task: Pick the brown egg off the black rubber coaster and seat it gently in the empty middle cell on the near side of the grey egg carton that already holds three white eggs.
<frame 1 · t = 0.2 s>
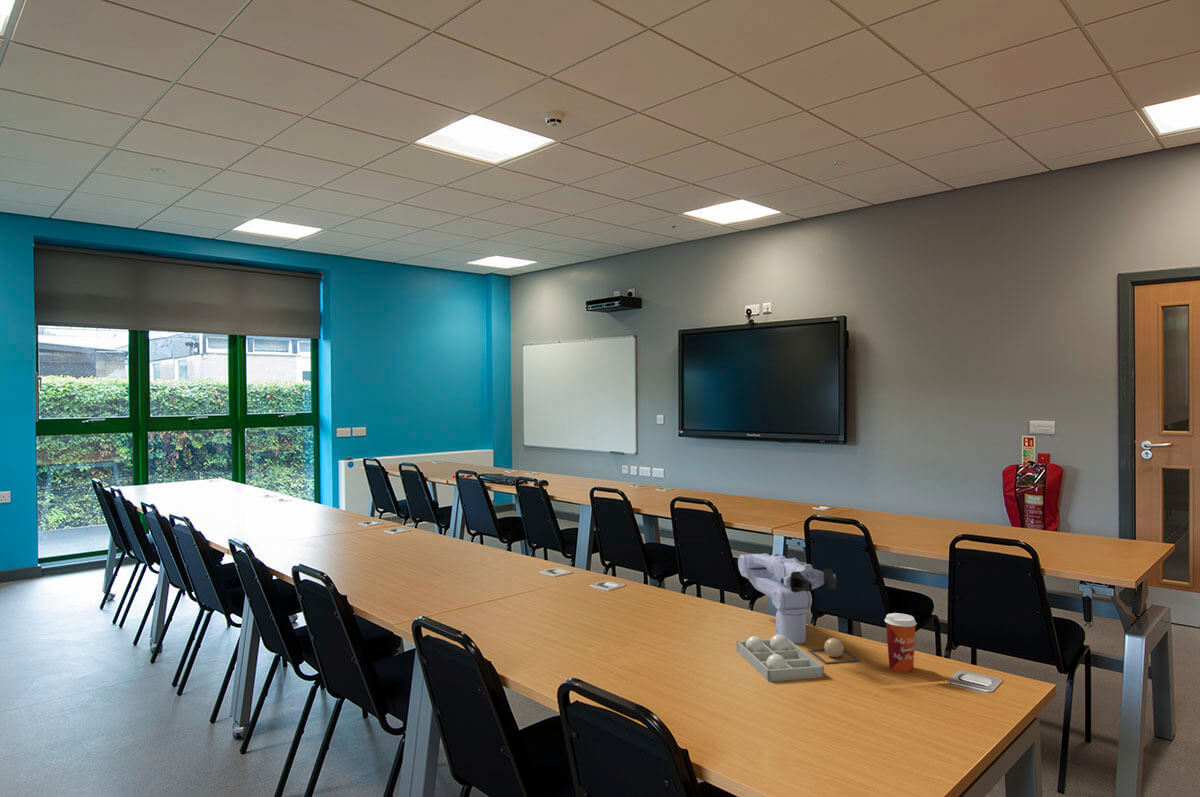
hand: (824, 586, 185), 21 cm above the table, tool horizontal, fingers open, 7 cm apart
carton: (778, 666, 185), on the table
white egg C: (779, 652, 193), point 1 cm above the table, touching carton
paper cup: (901, 671, 181), on the table
white egg A: (755, 654, 192), point 1 cm above the table, touching carton
white egg B: (776, 674, 178), point 1 cm above the table, touching carton
coaster: (834, 659, 190), on the table
brown egg: (834, 656, 190), point 1 cm above the table, touching coaster
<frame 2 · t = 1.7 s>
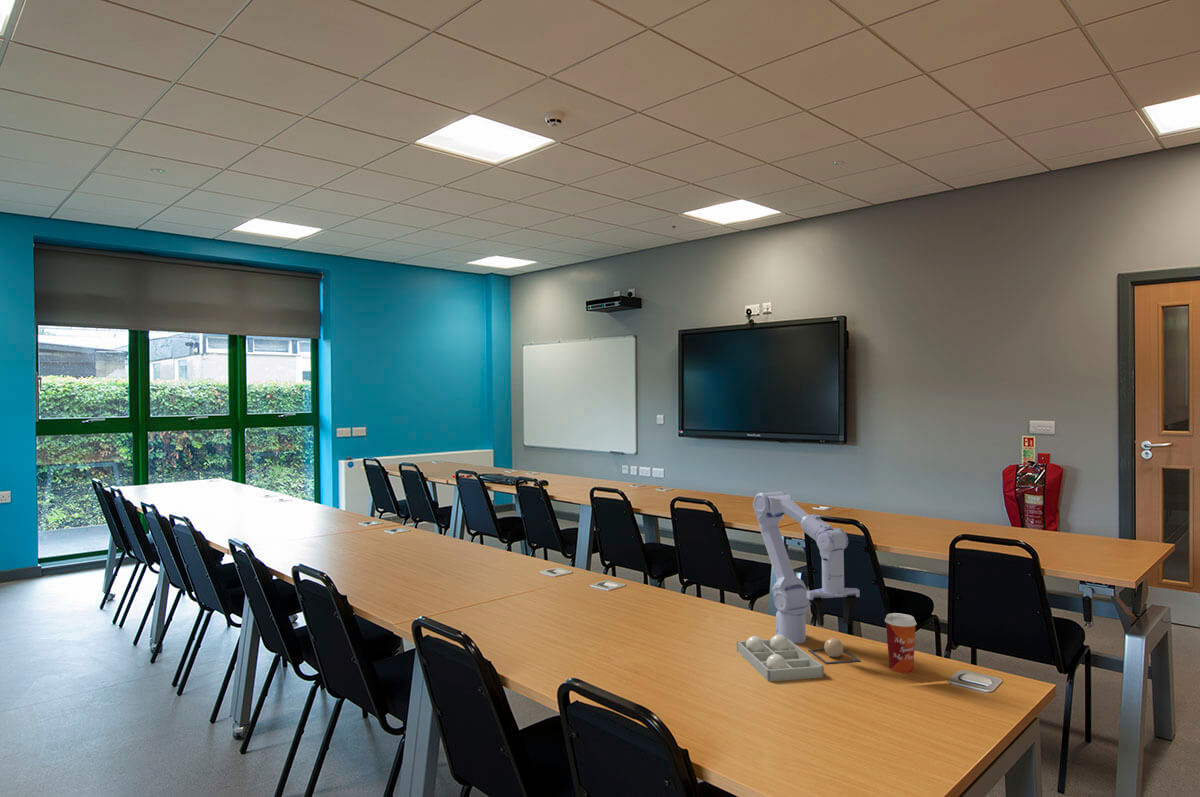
hand: (833, 624, 190), 10 cm above the table, tool pointing down, fingers open, 7 cm apart
nothing on the table moved.
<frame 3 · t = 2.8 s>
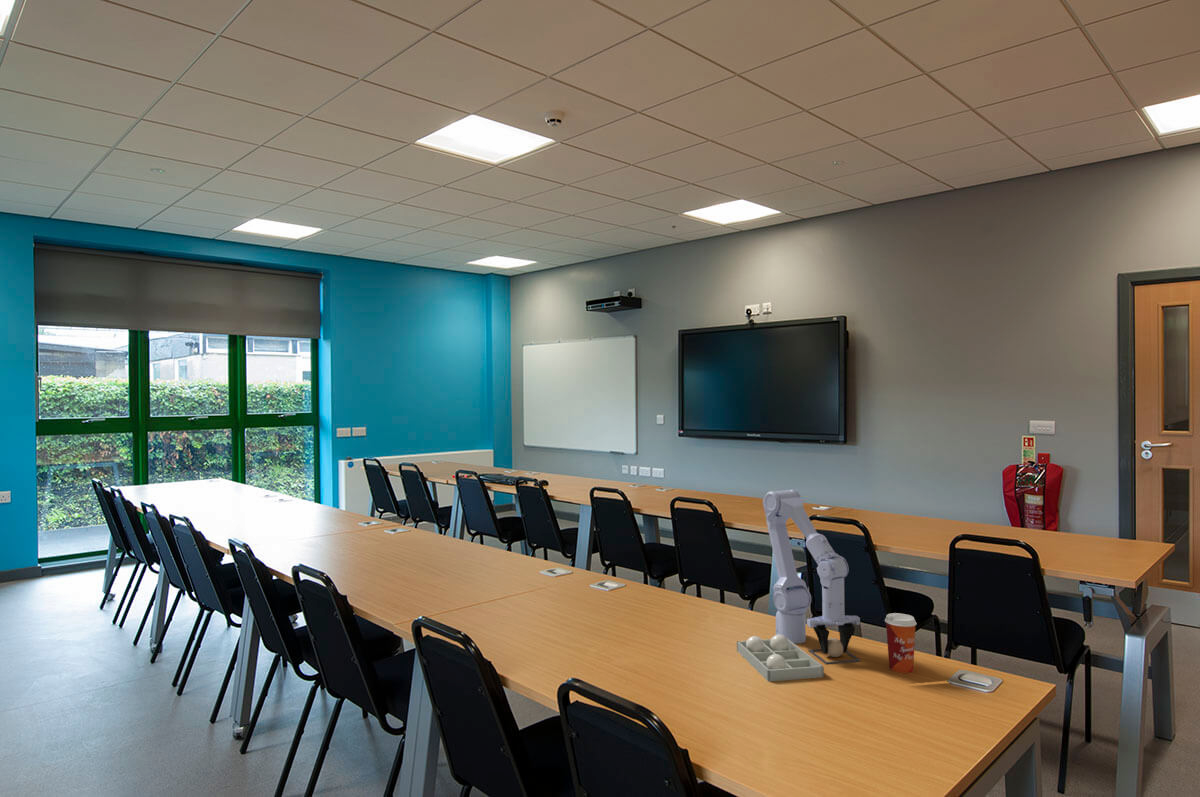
hand: (833, 652, 190), 2 cm above the table, tool pointing down, fingers closed on brown egg, 5 cm apart
brown egg: (834, 656, 190), point 1 cm above the table, touching coaster, gripper
everything else where it was.
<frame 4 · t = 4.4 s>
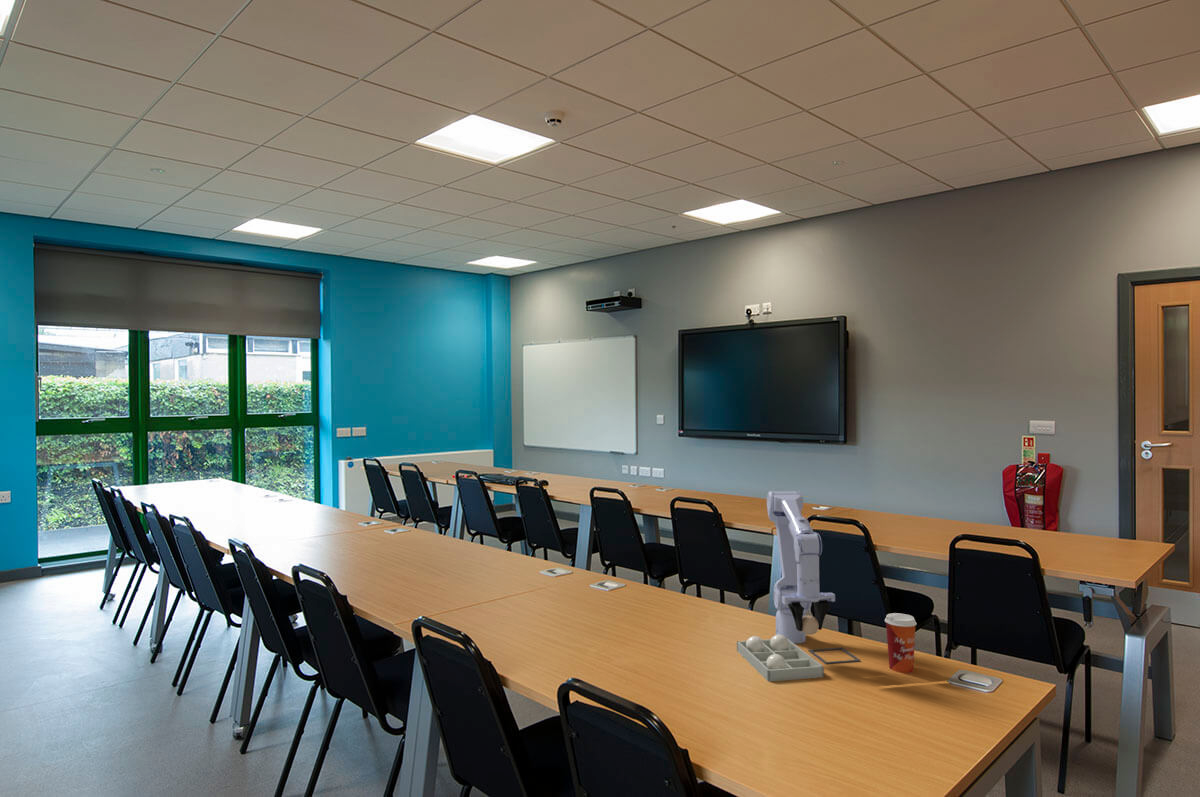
hand: (808, 629, 188), 9 cm above the table, tool pointing down, fingers closed on brown egg, 5 cm apart
brown egg: (809, 634, 188), point 8 cm above the table, touching gripper
everything else where it was.
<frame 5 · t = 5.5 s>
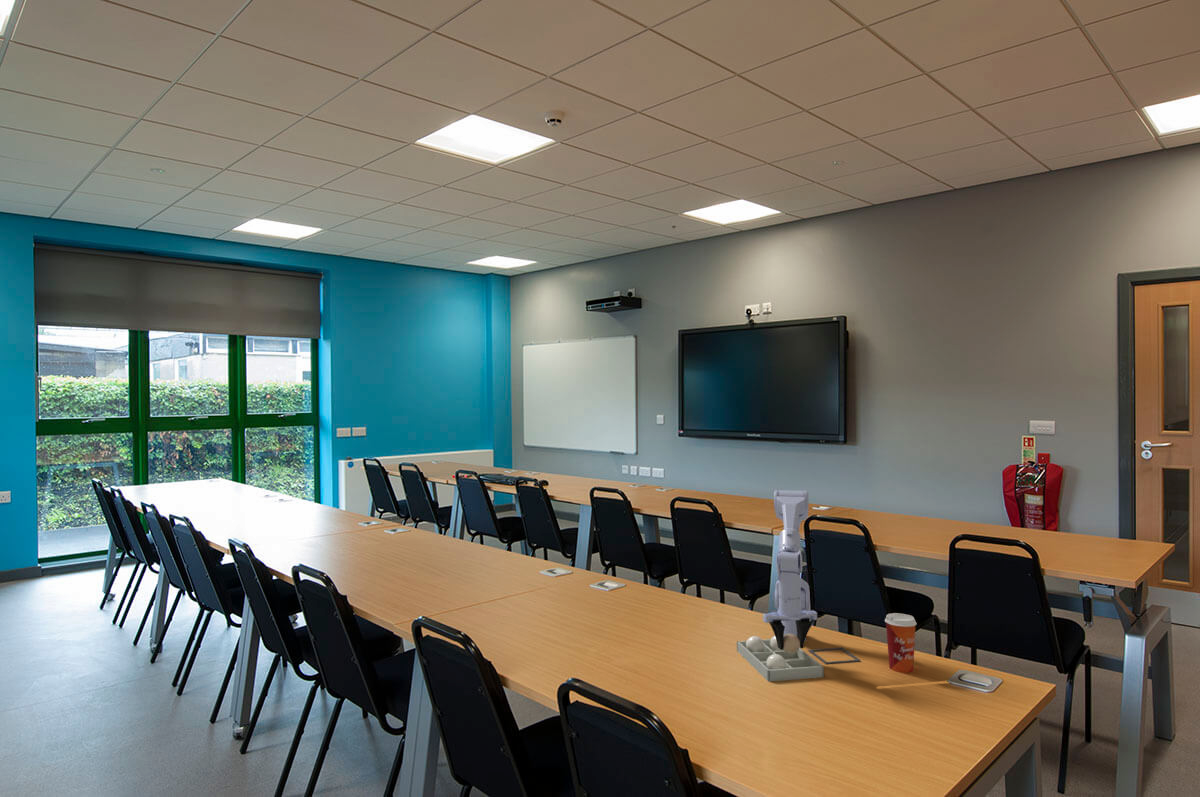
hand: (790, 647, 186), 5 cm above the table, tool pointing down, fingers closed on brown egg, 5 cm apart
brown egg: (790, 652, 186), point 3 cm above the table, touching gripper
everything else where it was.
when the fingers open (4 cm above the table, at t = 6.1 s): brown egg drops 2 cm, resting on carton.
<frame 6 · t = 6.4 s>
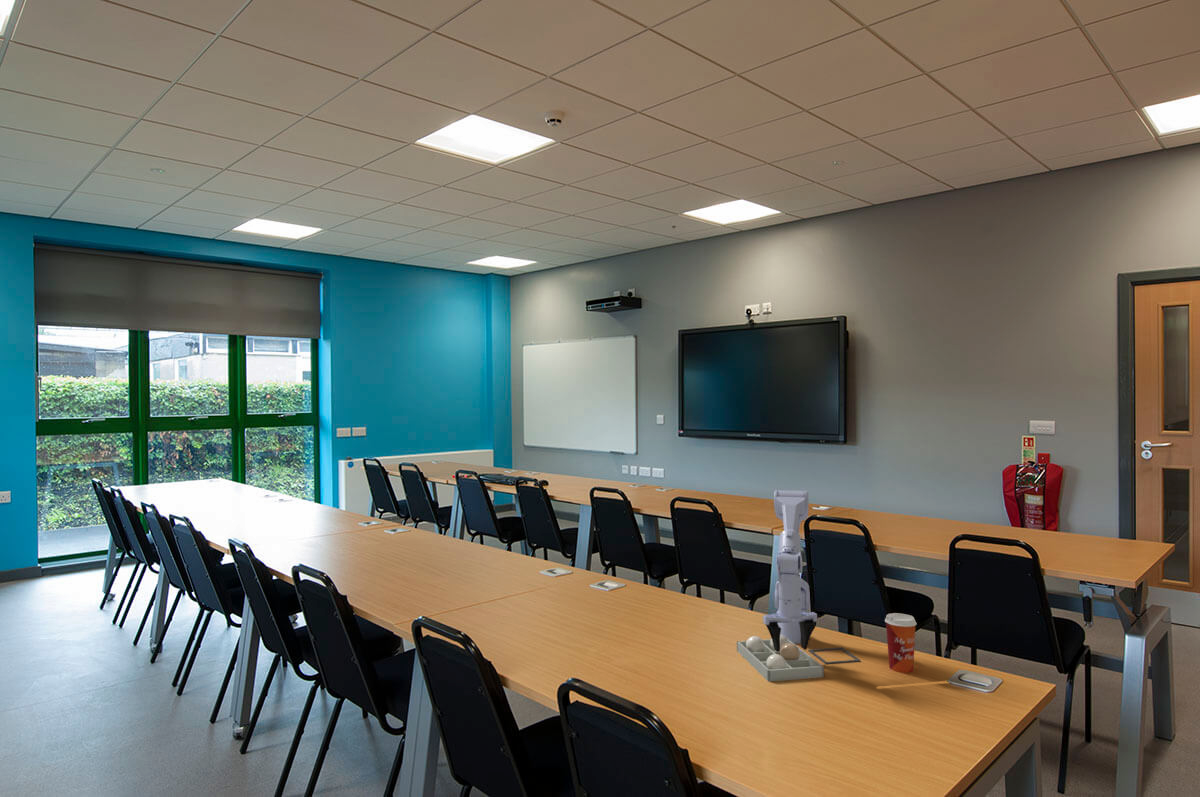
hand: (790, 649, 186), 4 cm above the table, tool pointing down, fingers open, 7 cm apart
brown egg: (791, 662, 186), point 1 cm above the table, tilted 6°, touching carton
everything else where it was.
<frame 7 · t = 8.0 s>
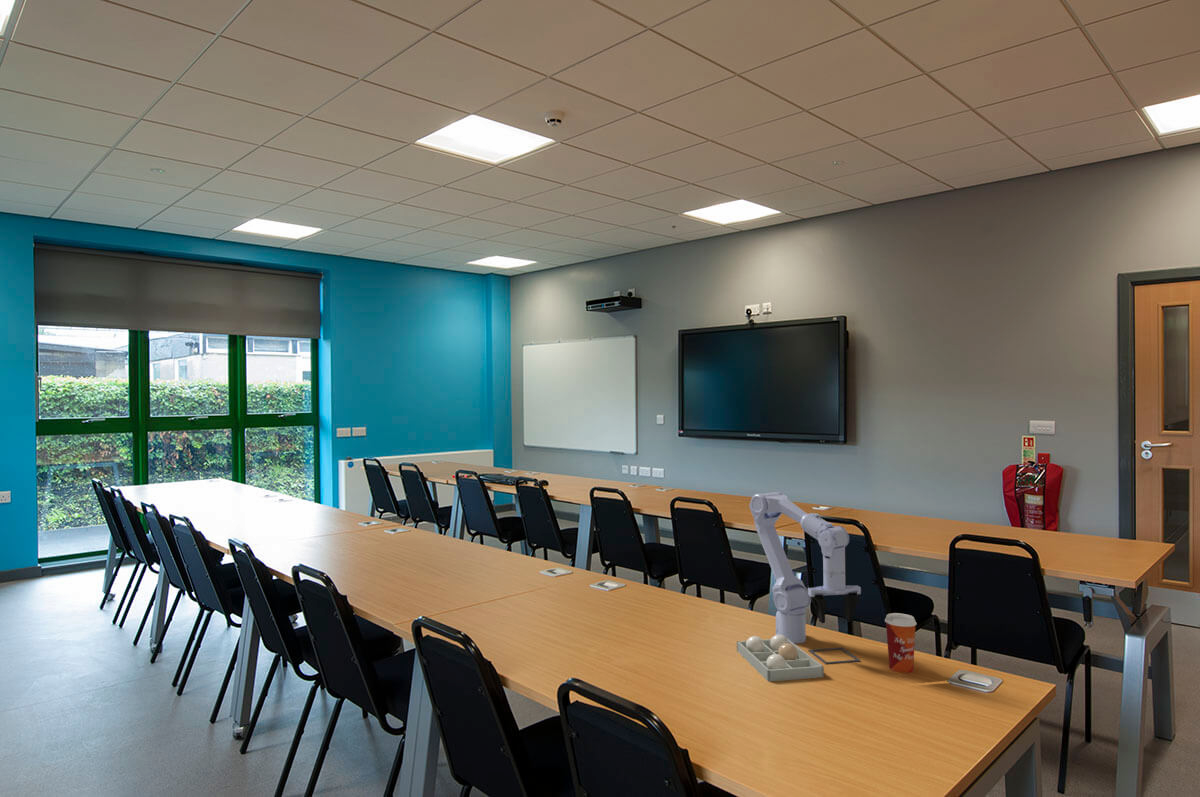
hand: (834, 621, 191), 10 cm above the table, tool pointing down, fingers open, 7 cm apart
brown egg: (791, 661, 186), point 1 cm above the table, tilted 20°, touching carton
everything else where it was.
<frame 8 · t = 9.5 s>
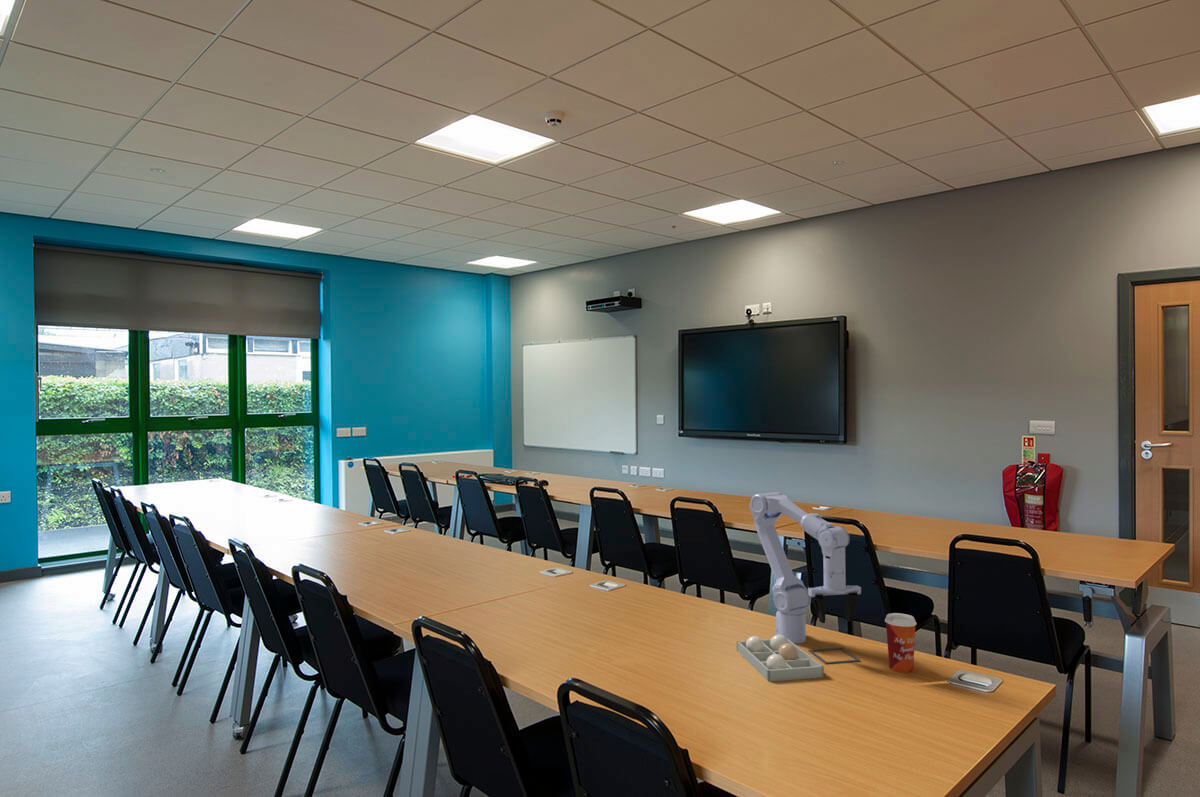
hand: (835, 621, 191), 10 cm above the table, tool pointing down, fingers open, 7 cm apart
nothing on the table moved.
at the end: brown egg 0.1 cm from the target spot on the carton, point 0.9 cm above the carton's base; the gripper is holding nothing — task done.
